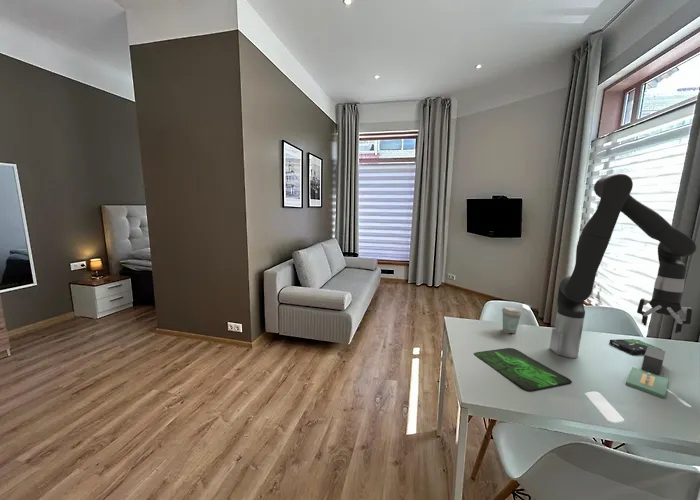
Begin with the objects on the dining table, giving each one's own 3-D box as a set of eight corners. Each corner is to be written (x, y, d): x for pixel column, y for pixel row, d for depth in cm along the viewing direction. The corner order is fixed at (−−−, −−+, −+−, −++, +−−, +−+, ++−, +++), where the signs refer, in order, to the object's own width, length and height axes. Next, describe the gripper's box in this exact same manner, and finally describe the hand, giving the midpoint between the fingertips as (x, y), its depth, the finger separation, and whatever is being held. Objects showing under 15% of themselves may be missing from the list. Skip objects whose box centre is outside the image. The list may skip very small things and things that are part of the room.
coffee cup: (503, 334, 142) (506, 310, 140) (497, 327, 150) (500, 305, 149) (521, 336, 141) (525, 312, 139) (515, 328, 149) (517, 306, 147)
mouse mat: (470, 353, 122) (470, 351, 122) (511, 347, 129) (511, 345, 129) (527, 393, 97) (527, 391, 96) (574, 384, 103) (575, 381, 103)
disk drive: (631, 356, 126) (661, 355, 128) (633, 350, 125) (662, 349, 127) (608, 345, 136) (636, 343, 138) (609, 339, 136) (637, 338, 137)
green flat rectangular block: (625, 384, 104) (626, 377, 103) (632, 369, 114) (633, 363, 113) (664, 398, 96) (666, 391, 96) (668, 381, 107) (669, 374, 106)
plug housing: (641, 369, 114) (644, 354, 113) (645, 359, 122) (647, 346, 121) (659, 375, 111) (662, 360, 110) (662, 364, 118) (665, 351, 117)
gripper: (641, 285, 114) (633, 325, 117) (696, 294, 104) (687, 337, 106) (643, 283, 119) (636, 320, 122) (696, 291, 108) (688, 332, 111)
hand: (660, 328), depth 114 cm, fingers open, 8 cm apart
